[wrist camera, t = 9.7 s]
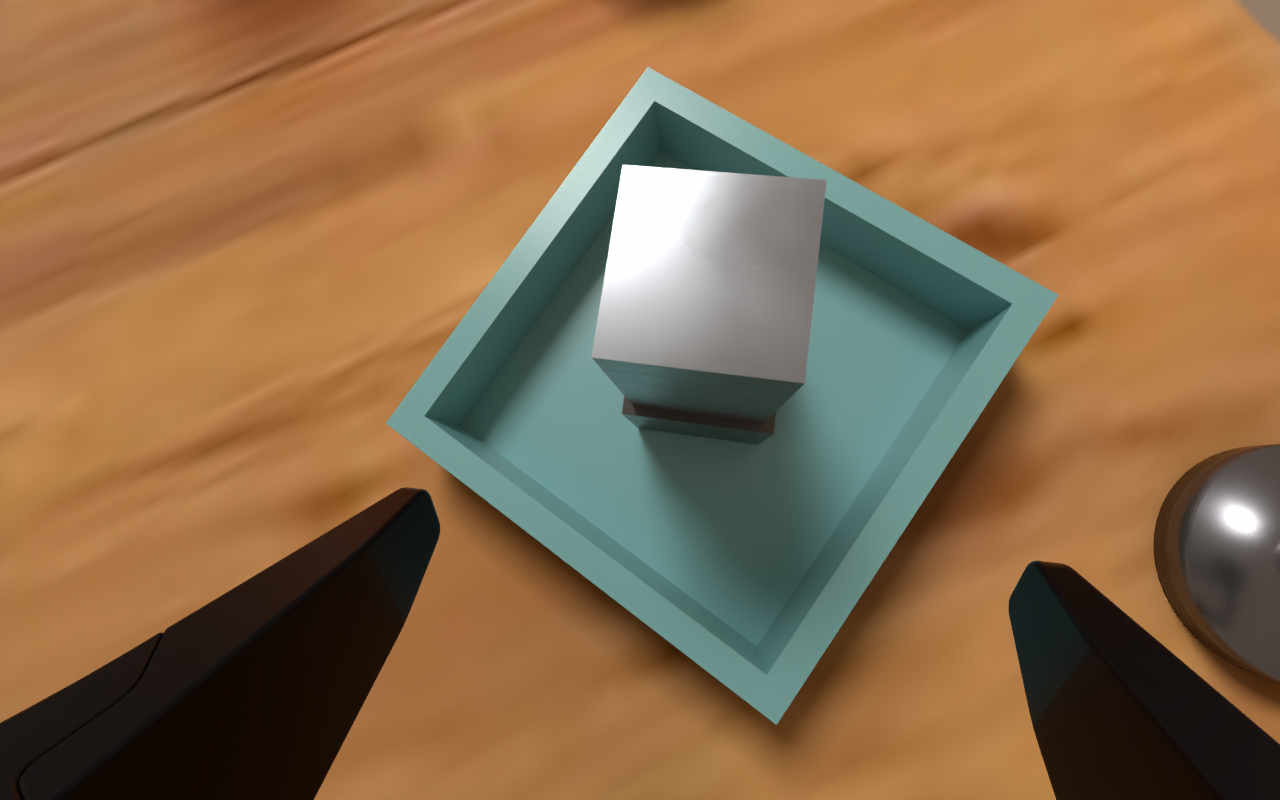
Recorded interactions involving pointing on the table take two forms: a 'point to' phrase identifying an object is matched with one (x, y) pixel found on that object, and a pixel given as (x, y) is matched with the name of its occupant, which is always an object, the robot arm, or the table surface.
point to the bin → (712, 468)
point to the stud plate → (1226, 555)
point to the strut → (709, 298)
